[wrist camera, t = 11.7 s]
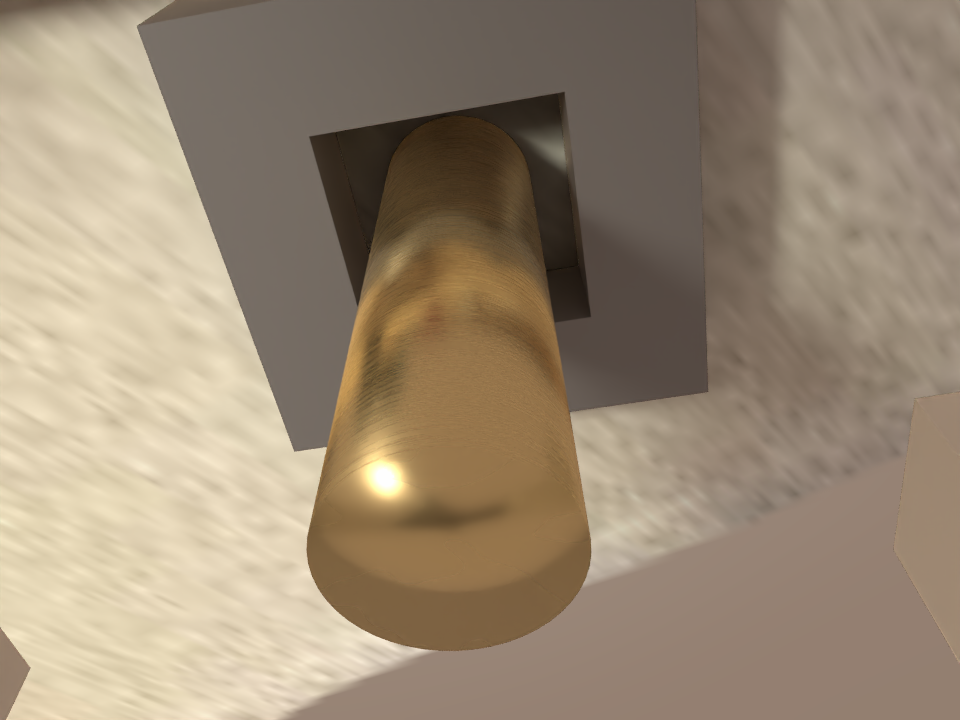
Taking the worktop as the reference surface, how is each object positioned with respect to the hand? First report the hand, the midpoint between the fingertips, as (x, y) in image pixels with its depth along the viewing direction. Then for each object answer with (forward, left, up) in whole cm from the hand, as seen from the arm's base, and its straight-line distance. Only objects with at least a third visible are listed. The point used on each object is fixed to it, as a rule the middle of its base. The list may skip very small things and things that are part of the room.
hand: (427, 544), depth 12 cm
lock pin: (0, 0, -14) cm, 14 cm away
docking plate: (0, 0, -14) cm, 14 cm away
